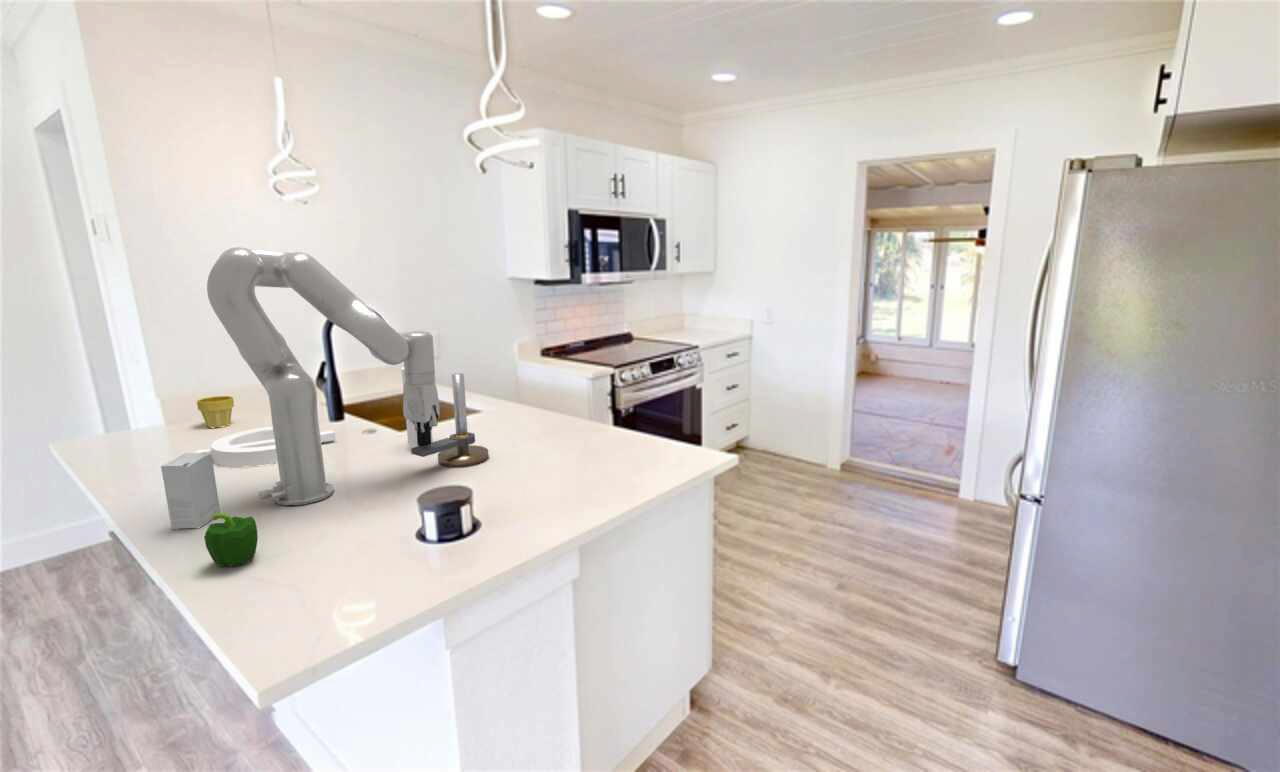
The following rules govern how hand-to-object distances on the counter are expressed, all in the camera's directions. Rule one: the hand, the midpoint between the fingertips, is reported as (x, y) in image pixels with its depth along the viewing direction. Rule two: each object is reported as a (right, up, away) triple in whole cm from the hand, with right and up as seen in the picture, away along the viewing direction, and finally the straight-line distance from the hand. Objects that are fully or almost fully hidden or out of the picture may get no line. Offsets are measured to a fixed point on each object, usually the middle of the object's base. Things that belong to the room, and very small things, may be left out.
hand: (424, 444), depth 162 cm
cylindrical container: (-9, -3, +23) cm, 25 cm away
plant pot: (-90, +2, +48) cm, 102 cm away
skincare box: (-40, -14, -29) cm, 51 cm away
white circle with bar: (-54, -5, +20) cm, 58 cm away
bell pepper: (-19, -18, -47) cm, 54 cm away
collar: (+4, -1, +6) cm, 7 cm away
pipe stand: (+7, -5, +11) cm, 15 cm away
